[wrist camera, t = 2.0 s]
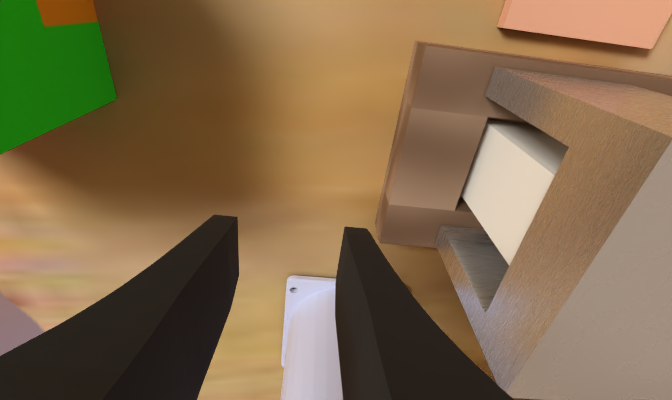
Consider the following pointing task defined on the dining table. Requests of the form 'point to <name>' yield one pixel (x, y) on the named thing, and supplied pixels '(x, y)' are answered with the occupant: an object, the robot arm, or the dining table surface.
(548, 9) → the terracotta tile
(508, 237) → the cream block
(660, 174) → the sliding cover
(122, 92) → the dining table surface
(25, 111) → the puzzle toy
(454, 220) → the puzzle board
